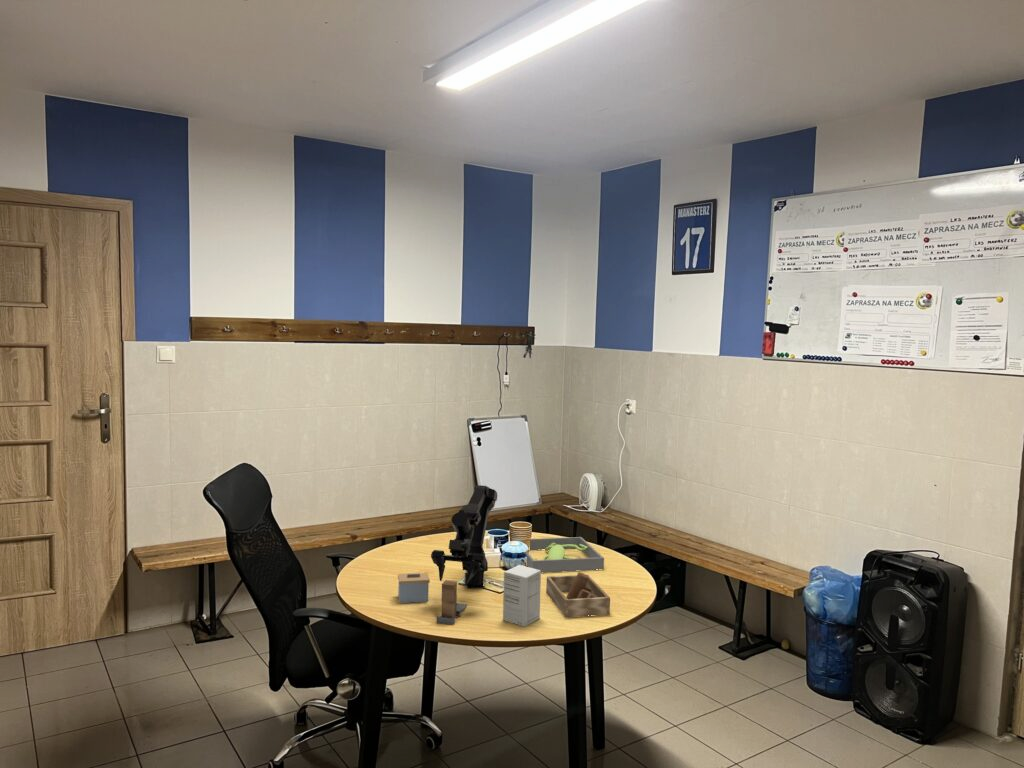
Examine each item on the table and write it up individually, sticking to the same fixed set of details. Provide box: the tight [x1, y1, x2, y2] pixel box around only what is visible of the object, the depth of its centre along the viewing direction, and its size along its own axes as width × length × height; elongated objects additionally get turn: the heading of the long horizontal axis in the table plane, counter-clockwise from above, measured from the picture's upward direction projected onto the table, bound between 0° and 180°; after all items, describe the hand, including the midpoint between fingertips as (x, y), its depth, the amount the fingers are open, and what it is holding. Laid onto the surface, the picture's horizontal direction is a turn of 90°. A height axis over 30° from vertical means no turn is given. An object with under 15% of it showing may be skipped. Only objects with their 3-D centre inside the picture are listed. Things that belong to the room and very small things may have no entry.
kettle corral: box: [526, 536, 605, 574], centre depth 315 cm, size 30×30×5 cm
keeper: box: [435, 609, 462, 625], centre depth 249 cm, size 8×6×2 cm
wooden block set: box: [565, 571, 598, 599], centre depth 266 cm, size 18×9×10 cm, turn 5°
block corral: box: [545, 574, 611, 618], centre depth 267 cm, size 16×24×6 cm, turn 13°
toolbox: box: [397, 572, 431, 604], centre depth 266 cm, size 11×8×9 cm
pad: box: [456, 602, 468, 613], centre depth 259 cm, size 6×6×1 cm
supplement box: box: [502, 564, 542, 627], centre depth 250 cm, size 10×9×17 cm
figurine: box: [534, 543, 588, 560], centre depth 315 cm, size 18×27×6 cm
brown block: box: [440, 579, 458, 619], centre depth 249 cm, size 4×4×12 cm
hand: (453, 581), depth 253 cm, fingers open, 9 cm apart
